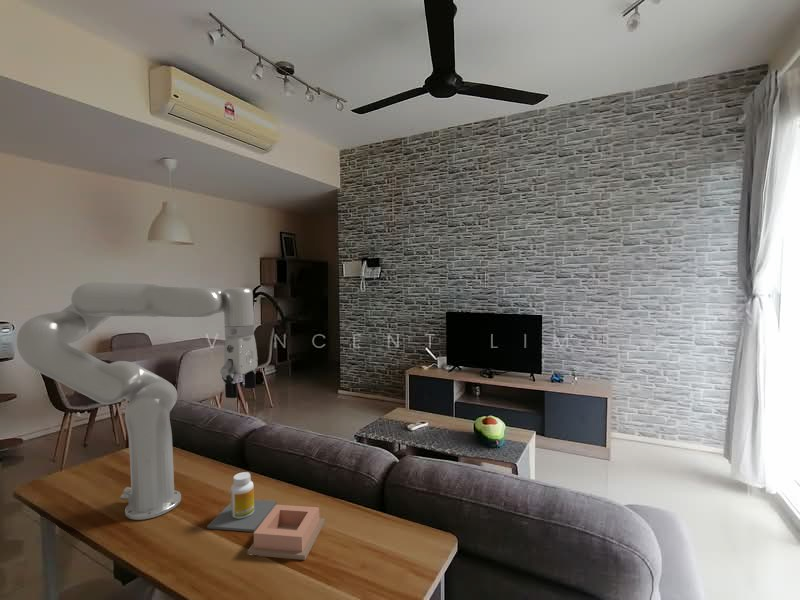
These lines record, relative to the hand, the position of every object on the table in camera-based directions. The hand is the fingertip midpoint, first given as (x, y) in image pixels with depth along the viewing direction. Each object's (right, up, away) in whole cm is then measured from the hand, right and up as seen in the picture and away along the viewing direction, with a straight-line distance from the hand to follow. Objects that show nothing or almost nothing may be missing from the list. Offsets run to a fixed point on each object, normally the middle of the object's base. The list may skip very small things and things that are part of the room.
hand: (241, 392), depth 109 cm
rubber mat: (+5, -29, -10) cm, 31 cm away
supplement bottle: (+5, -28, -10) cm, 31 cm away
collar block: (+19, -29, -19) cm, 40 cm away
